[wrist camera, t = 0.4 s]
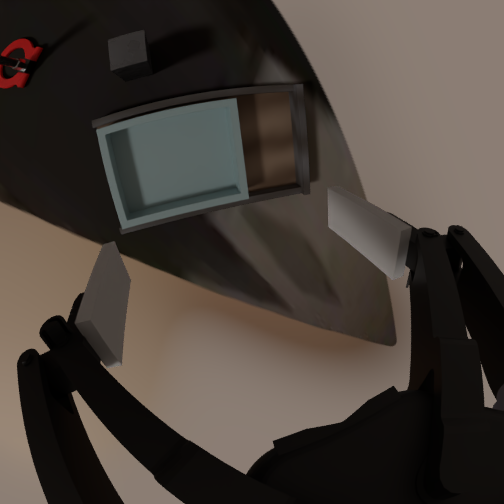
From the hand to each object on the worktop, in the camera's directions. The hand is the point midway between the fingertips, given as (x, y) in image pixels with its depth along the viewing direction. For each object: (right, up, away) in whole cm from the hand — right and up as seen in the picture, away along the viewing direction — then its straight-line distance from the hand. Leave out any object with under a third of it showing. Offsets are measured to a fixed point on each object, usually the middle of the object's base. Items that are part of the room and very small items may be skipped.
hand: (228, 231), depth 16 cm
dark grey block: (-14, +24, +13) cm, 31 cm away
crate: (-10, +12, +20) cm, 25 cm away
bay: (-6, +13, +22) cm, 26 cm away
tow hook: (-35, +28, +4) cm, 44 cm away
